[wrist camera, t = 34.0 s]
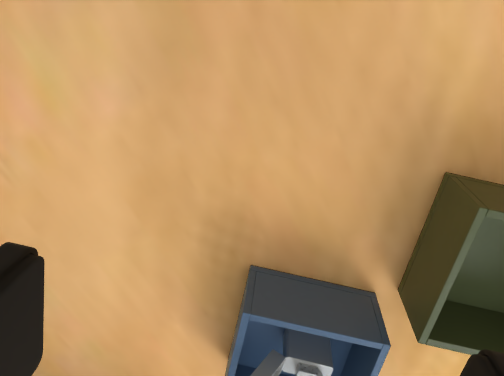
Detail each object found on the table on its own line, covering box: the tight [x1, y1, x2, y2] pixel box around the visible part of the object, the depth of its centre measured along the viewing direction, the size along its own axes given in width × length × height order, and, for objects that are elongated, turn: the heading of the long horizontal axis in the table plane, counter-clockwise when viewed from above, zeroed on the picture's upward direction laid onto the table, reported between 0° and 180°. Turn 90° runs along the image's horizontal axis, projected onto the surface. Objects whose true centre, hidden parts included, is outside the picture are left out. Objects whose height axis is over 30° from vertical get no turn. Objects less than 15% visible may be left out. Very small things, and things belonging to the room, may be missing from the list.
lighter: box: [250, 328, 333, 376], centre depth 37 cm, size 7×2×8 cm, turn 77°
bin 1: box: [225, 265, 391, 376], centre depth 38 cm, size 12×12×7 cm
